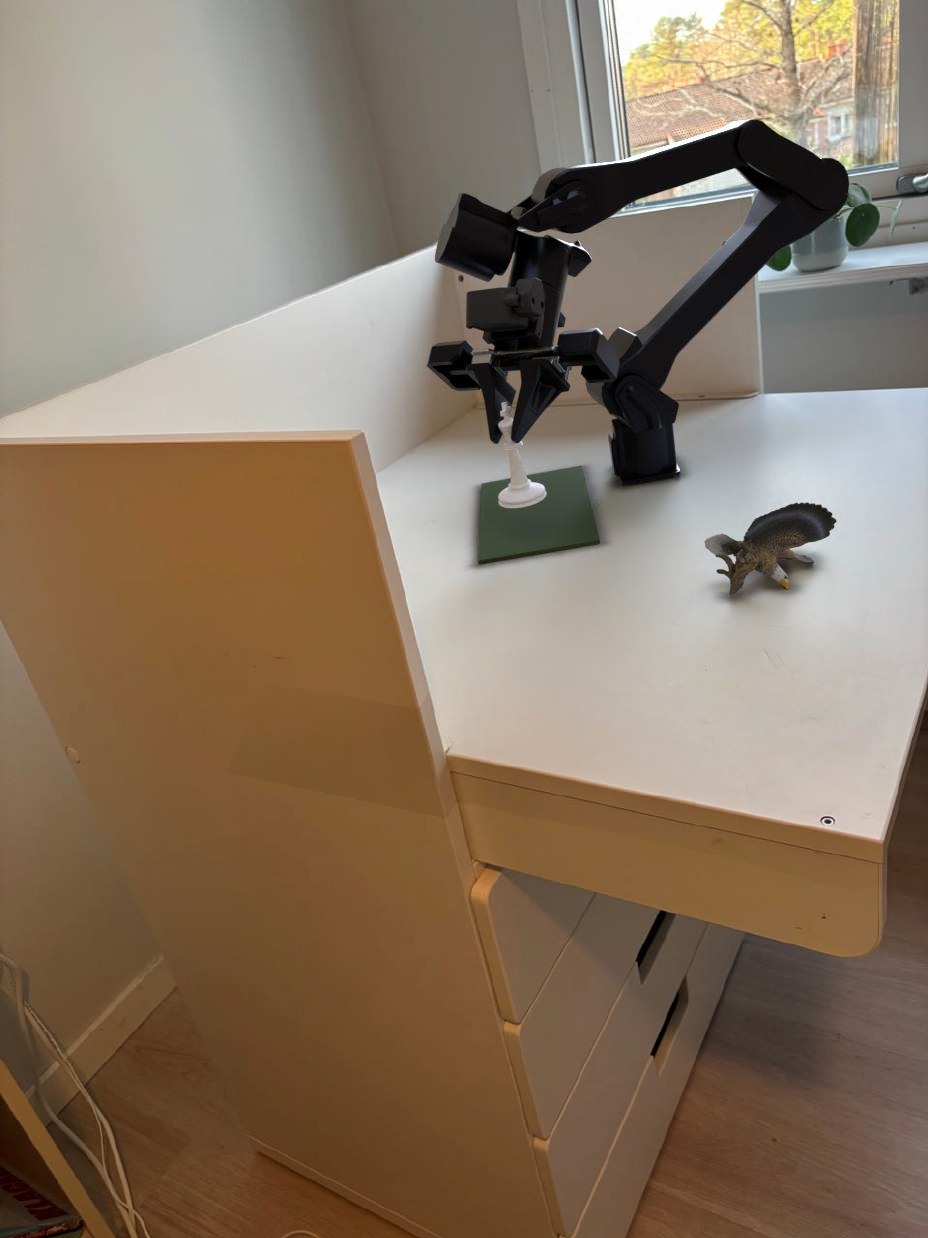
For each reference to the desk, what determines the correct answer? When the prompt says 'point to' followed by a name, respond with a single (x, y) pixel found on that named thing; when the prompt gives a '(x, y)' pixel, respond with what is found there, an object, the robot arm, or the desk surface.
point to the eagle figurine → (771, 542)
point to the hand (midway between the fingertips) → (504, 441)
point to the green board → (537, 518)
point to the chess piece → (517, 471)
